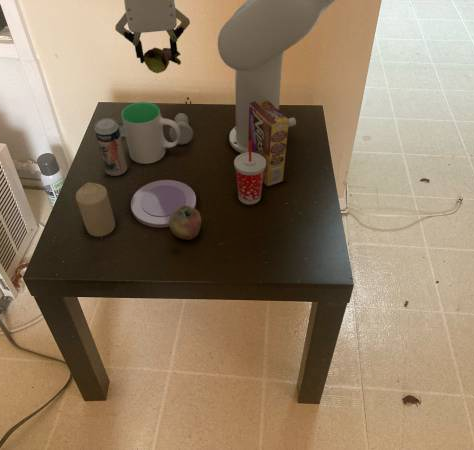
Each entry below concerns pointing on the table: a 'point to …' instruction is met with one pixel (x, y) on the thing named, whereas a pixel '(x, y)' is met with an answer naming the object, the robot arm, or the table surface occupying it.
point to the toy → (159, 59)
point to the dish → (161, 202)
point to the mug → (146, 132)
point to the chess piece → (182, 129)
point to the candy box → (268, 138)
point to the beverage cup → (249, 175)
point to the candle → (95, 209)
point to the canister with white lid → (111, 146)
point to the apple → (185, 222)
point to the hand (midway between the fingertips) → (157, 58)
